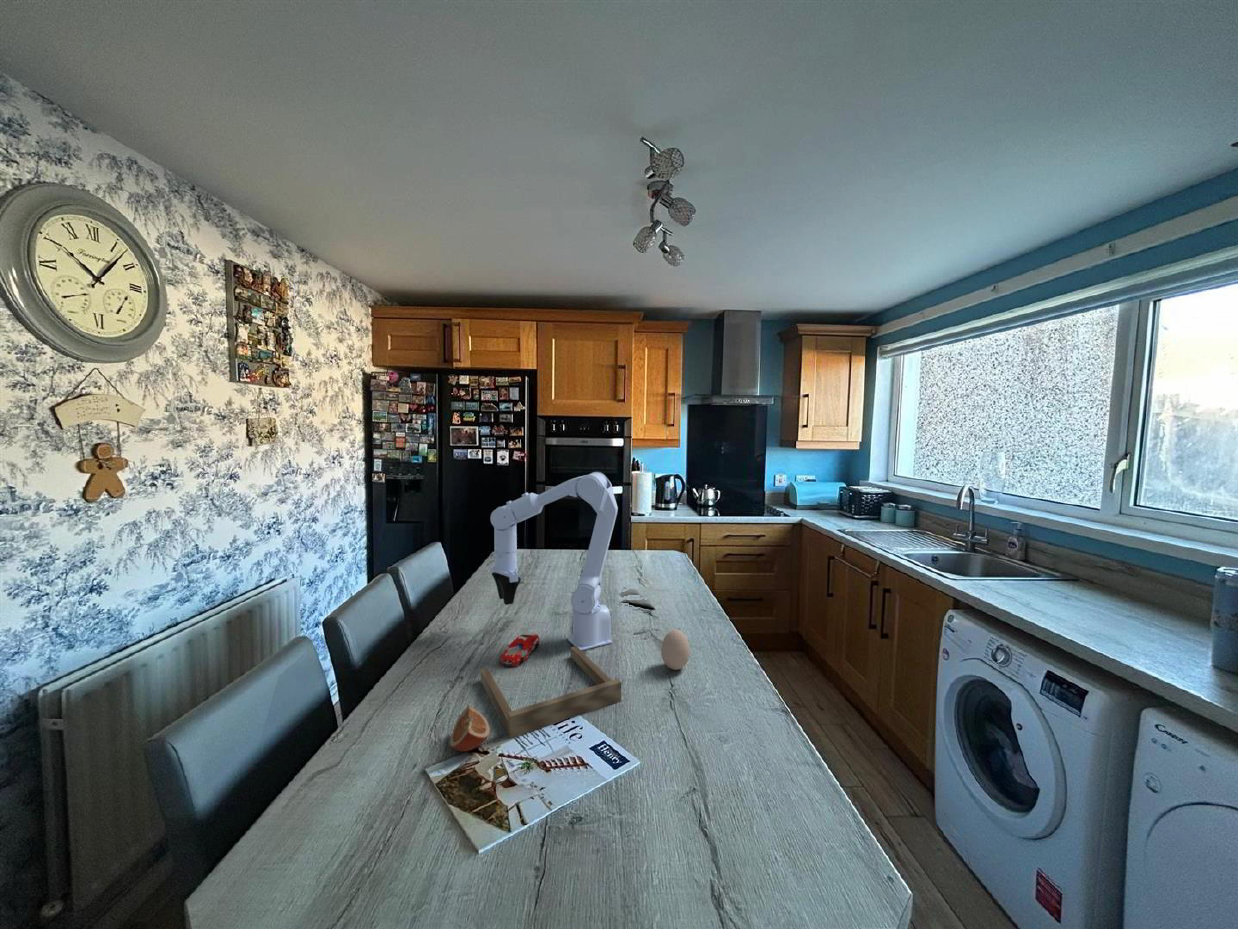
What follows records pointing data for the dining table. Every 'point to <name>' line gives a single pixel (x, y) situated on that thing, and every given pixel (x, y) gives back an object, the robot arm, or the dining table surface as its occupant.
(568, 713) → the garage bay
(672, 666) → the egg
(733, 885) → the dining table surface
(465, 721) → the fruit slice
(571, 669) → the dining table surface
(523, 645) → the race car
